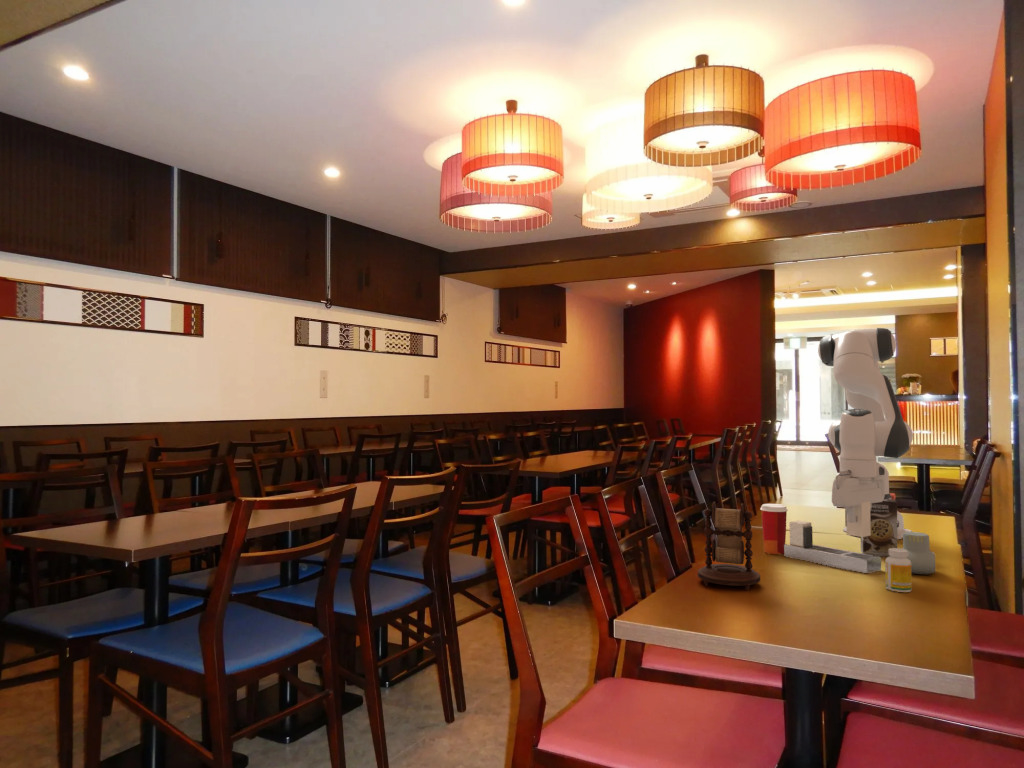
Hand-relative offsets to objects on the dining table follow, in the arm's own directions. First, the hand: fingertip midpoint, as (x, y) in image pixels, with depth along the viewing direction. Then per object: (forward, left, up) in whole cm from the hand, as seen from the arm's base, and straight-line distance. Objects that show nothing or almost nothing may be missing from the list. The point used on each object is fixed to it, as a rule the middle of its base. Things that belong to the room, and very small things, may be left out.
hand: (858, 521), depth 180 cm
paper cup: (+1, -25, -13) cm, 28 cm away
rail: (0, -8, -13) cm, 15 cm away
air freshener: (-10, +10, -13) cm, 19 cm away
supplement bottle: (+12, +16, -13) cm, 24 cm away
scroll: (+40, -11, -13) cm, 43 cm away
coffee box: (-22, -6, -13) cm, 27 cm away
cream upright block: (0, 0, -4) cm, 4 cm away
